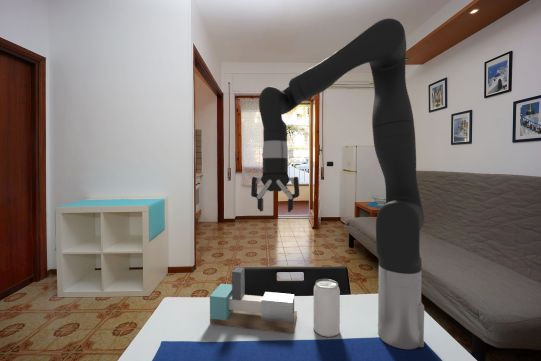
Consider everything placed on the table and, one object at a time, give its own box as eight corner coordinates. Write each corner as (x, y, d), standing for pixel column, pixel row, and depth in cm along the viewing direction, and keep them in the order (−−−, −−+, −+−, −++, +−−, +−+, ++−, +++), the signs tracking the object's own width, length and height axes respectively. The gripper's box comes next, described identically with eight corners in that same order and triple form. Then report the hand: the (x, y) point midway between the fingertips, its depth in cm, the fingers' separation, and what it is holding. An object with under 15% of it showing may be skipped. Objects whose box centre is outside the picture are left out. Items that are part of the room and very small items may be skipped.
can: (340, 339, 65) (340, 289, 64) (312, 336, 66) (313, 287, 66) (339, 324, 71) (339, 279, 71) (314, 321, 72) (314, 277, 72)
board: (296, 316, 75) (296, 311, 75) (293, 333, 67) (293, 327, 67) (221, 309, 79) (221, 303, 79) (210, 324, 71) (209, 318, 71)
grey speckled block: (294, 313, 74) (294, 294, 73) (292, 323, 69) (292, 302, 69) (265, 311, 75) (265, 291, 75) (261, 320, 70) (261, 299, 70)
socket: (235, 305, 78) (235, 284, 78) (226, 320, 70) (226, 297, 70) (221, 303, 79) (220, 283, 79) (209, 318, 71) (209, 296, 71)
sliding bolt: (272, 307, 74) (272, 269, 74) (269, 314, 70) (269, 274, 70) (223, 302, 77) (223, 266, 76) (218, 309, 73) (218, 270, 73)
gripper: (300, 157, 83) (300, 210, 84) (255, 158, 86) (255, 209, 86) (298, 156, 76) (297, 214, 76) (248, 156, 78) (248, 212, 79)
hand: (275, 211), depth 81 cm, fingers open, 8 cm apart
